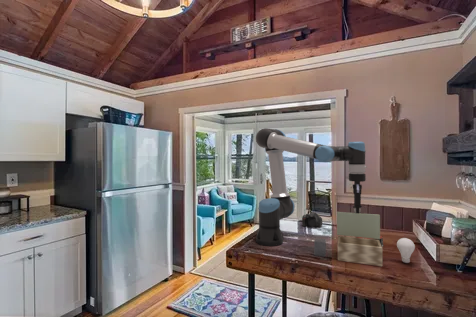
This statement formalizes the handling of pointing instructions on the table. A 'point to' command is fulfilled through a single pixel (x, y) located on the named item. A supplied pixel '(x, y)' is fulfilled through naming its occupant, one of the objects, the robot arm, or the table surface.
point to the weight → (320, 247)
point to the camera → (312, 220)
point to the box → (360, 250)
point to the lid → (358, 225)
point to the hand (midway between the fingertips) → (357, 220)
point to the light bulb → (405, 249)
